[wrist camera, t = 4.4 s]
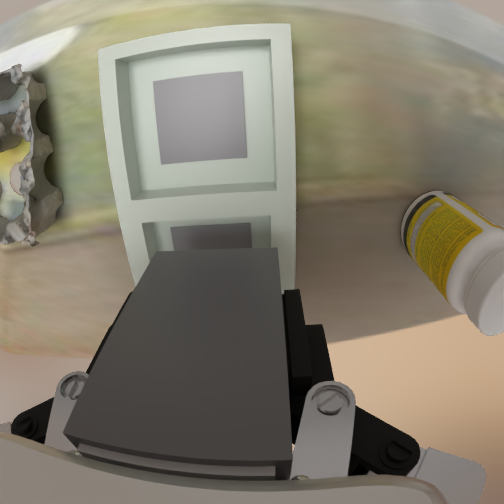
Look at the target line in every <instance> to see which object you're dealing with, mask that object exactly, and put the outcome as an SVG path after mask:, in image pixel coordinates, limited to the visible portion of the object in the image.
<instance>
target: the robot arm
mask: <svg viewBox="0 0 504 504" xmlns="http://www.w3.org/2000/svg"><path fill="white" fill-rule="evenodd" d="M131 294H132V292H131V293H130V294H129V295H128V297H127V299H126V301H125V303H124V304H123V306H122V308H121V310H120V311H119V313H118V315H117V317H116V319H115V321H114V322H113V324H112V325H111V326H110V328H109V329H108V331H107V333H106V335H105V337H104V339H103V340H102V342H101V344H100V346H99V348H98V350H97V352H96V354H95V356H94V358H93V360H92V362H91V364H90V366H89V368H88V369H87V371H86V373H85V372H72V373H70V374H68V375H66V376H65V377H63V378H62V379H61V380H60V382H59V383H58V386H57V388H56V392H55V397H53V398H51V399H49V400H47V401H45V402H43V403H41V404H39V405H37V406H35V407H33V408H31V409H28V410H26V411H24V412H22V413H21V414H19V415H18V416H17V417H16V418H15V419H14V421H13V423H12V424H11V423H10V422H7V423H4V424H0V504H478V503H479V500H480V497H481V494H482V491H483V488H484V485H485V481H486V473H485V470H484V468H483V467H482V466H481V465H480V464H479V463H477V462H474V461H471V460H468V459H464V458H461V457H458V456H454V455H451V454H448V453H445V452H442V451H439V450H436V449H433V448H430V447H429V448H428V449H423V448H421V447H419V444H418V443H417V442H416V440H415V439H414V438H412V437H411V436H409V435H408V434H406V433H404V432H402V431H400V430H398V429H397V428H395V427H393V426H391V425H389V424H387V423H385V422H384V421H382V420H380V419H379V418H377V417H375V416H373V415H371V414H370V413H368V412H366V411H364V410H363V409H361V408H359V407H358V406H356V405H355V404H356V401H355V395H354V394H353V391H352V390H351V389H350V388H349V387H348V386H346V385H344V384H342V383H340V382H335V381H334V377H333V372H332V367H331V362H330V357H329V353H328V348H327V343H326V339H325V334H324V329H323V326H322V324H317V325H305V320H304V314H303V308H302V302H301V296H300V290H299V289H293V290H284V294H282V304H283V317H284V329H285V342H286V356H287V370H288V385H289V401H290V417H291V435H292V443H293V444H294V445H295V447H294V451H293V461H292V468H291V475H290V477H287V478H286V480H281V481H239V480H218V479H205V478H194V477H184V476H176V475H168V474H162V473H155V472H149V471H143V470H138V469H133V468H128V467H123V466H118V465H114V464H110V463H105V462H101V461H97V460H93V459H90V458H86V457H83V456H82V455H81V454H80V453H79V452H78V451H77V448H76V447H75V446H74V445H73V444H72V443H71V442H70V441H69V440H68V438H67V437H66V436H65V435H64V434H63V431H64V428H65V426H66V424H67V421H68V419H69V417H70V415H71V412H72V410H73V408H74V406H75V403H76V401H77V399H78V397H79V395H80V393H81V391H82V388H83V386H84V384H85V382H86V380H87V378H88V376H89V374H90V372H91V370H92V368H93V366H94V364H95V362H96V360H97V358H98V356H99V354H100V352H101V350H102V348H103V346H104V344H105V342H106V340H107V338H108V336H109V334H110V332H111V331H112V329H113V327H114V325H115V323H116V321H117V319H118V318H119V316H120V314H121V312H122V310H123V308H124V307H125V305H126V303H127V301H128V299H129V298H130V296H131Z"/></svg>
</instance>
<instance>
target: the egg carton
mask: <svg viewBox="0 0 504 504" xmlns="http://www.w3.org/2000/svg"><path fill="white" fill-rule="evenodd" d="M21 66H22V65H21V64H18V65H15V66H13V67H12V68H10V69H8V70H6V71H4V72H1V73H0V100H6V99H9V98H11V97H12V96H13V95H14V93H15V92H16V90H17V88H18V85H25V91H26V99H25V100H23V101H22V102H21V106H20V107H19V109H18V110H17V111H16V113H10V112H9V113H8V114H3V115H0V152H3V151H6V150H8V149H11V148H13V147H15V146H17V145H18V144H19V143H20V142H21V141H22V138H24V139H25V141H27V142H31V146H30V151H29V153H28V154H27V155H26V157H25V158H24V159H23V161H22V162H18V163H16V164H15V165H14V166H13V167H12V169H11V172H10V184H11V187H12V188H13V190H14V191H15V192H16V193H17V194H19V195H21V196H22V195H23V197H24V209H23V214H21V215H20V216H18V217H17V218H15V219H14V220H12V221H11V222H9V221H8V219H7V218H5V217H3V216H0V243H4V244H9V243H12V242H16V241H22V242H21V244H23V245H27V244H30V245H31V246H36V245H38V244H40V243H39V242H37V241H35V238H36V237H37V236H39V235H40V234H41V233H42V232H44V231H45V230H46V229H47V228H49V227H50V226H51V225H53V224H54V223H55V215H56V211H57V209H58V207H59V206H61V205H62V204H63V196H62V192H61V189H60V188H57V187H55V186H53V185H51V184H50V183H49V182H48V180H47V178H46V176H45V173H44V164H45V161H46V159H47V157H48V155H49V154H51V153H52V152H53V151H54V150H53V146H52V143H51V140H50V136H49V135H45V134H43V133H41V132H40V130H39V129H38V127H37V124H36V112H37V110H38V107H39V106H40V104H41V103H42V102H43V101H44V100H46V99H47V97H46V95H47V92H46V86H45V83H38V82H36V81H35V80H34V78H33V76H32V74H31V72H30V71H29V72H22V71H21ZM1 193H2V187H1V183H0V198H1Z"/></svg>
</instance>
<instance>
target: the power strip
mask: <svg viewBox="0 0 504 504" xmlns="http://www.w3.org/2000/svg"><path fill="white" fill-rule="evenodd" d="M98 63H99V80H100V93H101V104H102V114H103V123H104V132H105V139H106V147H107V154H108V160H109V167H110V173H111V179H112V185H113V190H114V196H115V201H116V206H117V211H118V216H119V221H120V226H121V230H122V235H123V239H124V244H125V248H126V252H127V256H128V260H129V264H130V268H131V272H132V276H133V280H134V283H135V287H136V285H137V284H138V282H139V280H140V278H141V277H142V275H143V273H144V271H145V270H146V268H147V266H148V265H149V263H150V261H151V260H152V258H153V256H154V255H155V253H156V251H180V250H210V249H241V248H274V247H278V258H279V269H280V281H281V292H282V294H284V290H293V289H295V263H296V151H295V111H294V84H293V63H292V44H291V28H290V24H285V23H274V24H243V25H228V26H217V27H207V28H199V29H191V30H184V31H177V32H171V33H166V34H160V35H155V36H150V37H145V38H140V39H136V40H132V41H127V42H123V43H119V44H115V45H112V46H108V47H104V48H101V49H98Z"/></svg>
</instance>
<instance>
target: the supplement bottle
mask: <svg viewBox="0 0 504 504" xmlns="http://www.w3.org/2000/svg"><path fill="white" fill-rule="evenodd" d="M401 238H402V243H403V245H404V248H405V249H406V251H407V253H408V254H409V255H410V256H411V257H412V258H413V260H414V261H415V262H416V263H417V264H418V266H419V267H420V268H421V269H422V270H423V272H424V273H425V274H426V275H427V276H428V277H429V279H430V280H431V281H432V282H433V284H434V285H435V286H436V287H437V289H438V290H439V291H440V292H441V294H442V295H443V296H444V297H445V299H446V300H447V301H448V303H449V304H450V305H451V306H452V307H453V308H454V309H455V310H456V311H458V312H460V313H463V314H467V315H468V317H469V319H470V320H471V321H472V322H473V323H474V324H475V326H476V327H477V328H478V329H479V330H480V331H481V332H482V333H483V334H485V335H488V336H494V335H498V334H500V333H502V332H504V230H503V229H502V228H501V227H499V226H498V225H496V224H495V223H494V222H492V221H491V220H489V219H488V218H486V217H485V216H484V215H482V214H481V213H479V212H478V211H476V210H475V209H473V208H472V207H470V206H469V205H467V204H465V203H464V202H462V201H461V200H459V199H457V198H456V197H454V196H453V195H451V194H449V193H447V192H444V191H432V192H428V193H426V194H424V195H422V196H420V197H418V198H417V199H416V200H415V201H414V202H413V203H412V204H411V205H410V207H409V208H408V210H407V211H406V213H405V215H404V218H403V221H402V226H401Z"/></svg>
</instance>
